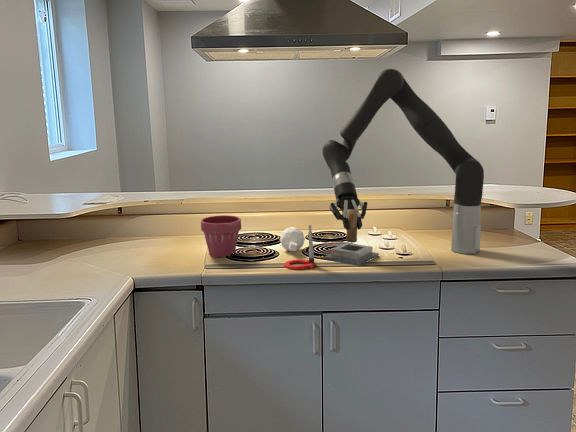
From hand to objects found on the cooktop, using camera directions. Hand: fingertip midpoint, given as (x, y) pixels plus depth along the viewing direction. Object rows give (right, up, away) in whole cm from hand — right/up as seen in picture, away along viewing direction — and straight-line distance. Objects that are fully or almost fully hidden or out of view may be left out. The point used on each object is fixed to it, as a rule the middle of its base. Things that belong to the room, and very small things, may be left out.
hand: (353, 228), depth 192 cm
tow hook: (-19, -13, -5) cm, 23 cm away
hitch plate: (0, -10, +4) cm, 11 cm away
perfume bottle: (-21, -9, +12) cm, 26 cm away
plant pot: (-46, -10, +10) cm, 48 cm away
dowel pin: (0, -5, +3) cm, 5 cm away
